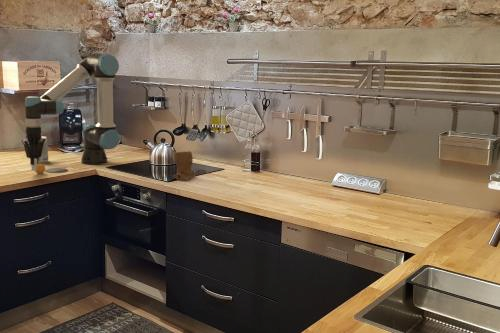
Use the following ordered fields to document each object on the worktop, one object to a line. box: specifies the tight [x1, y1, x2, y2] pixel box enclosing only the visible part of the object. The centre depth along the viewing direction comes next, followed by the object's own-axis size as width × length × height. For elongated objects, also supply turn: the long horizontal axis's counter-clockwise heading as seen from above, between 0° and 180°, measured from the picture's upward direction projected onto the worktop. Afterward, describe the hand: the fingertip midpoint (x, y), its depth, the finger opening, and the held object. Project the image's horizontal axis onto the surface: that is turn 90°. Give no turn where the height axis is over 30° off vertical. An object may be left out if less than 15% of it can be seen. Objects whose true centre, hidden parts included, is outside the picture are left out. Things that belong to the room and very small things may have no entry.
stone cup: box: [172, 150, 198, 181], centre depth 284 cm, size 15×12×15 cm
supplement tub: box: [38, 135, 49, 164], centre depth 310 cm, size 10×10×15 cm
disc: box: [44, 167, 69, 174], centre depth 290 cm, size 12×12×1 cm
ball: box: [34, 163, 46, 175], centre depth 280 cm, size 6×6×6 cm
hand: (34, 170), depth 277 cm, fingers closed
